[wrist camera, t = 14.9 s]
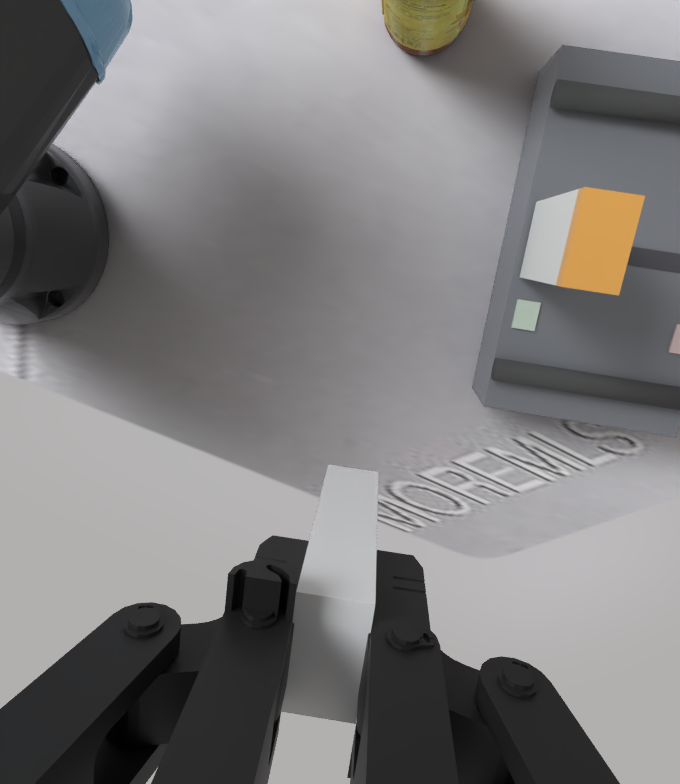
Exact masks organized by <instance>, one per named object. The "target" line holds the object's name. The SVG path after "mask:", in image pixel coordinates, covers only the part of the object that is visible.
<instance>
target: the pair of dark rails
mask: <svg viewBox="0 0 680 784" xmlns="http://www.w3.org/2000/svg"><path fill="white" fill-rule="evenodd" d="M550 107H552V108H560V109H567V110H574V111H581V112H588V113H595V114H602V115H609V116H616V117H623V118H630V119H637V120H644V121H651V122H658V123H665V124H672V125H679V126H680V96H676V95H668V94H661V93H654V92H647V91H640V90H633V89H626V88H618V87H611V86H604V85H597V84H590V83H583V82H576V81H569V80H561V79H558V80H557V81H556V83H555V86H554V88H553V92H552V95H551V101H550ZM491 379H492V380H495V381H501V382H507V383H513V384H519V385H526V386H532V387H538V388H544V389H550V390H557V391H563V392H569V393H575V394H582V395H588V396H594V397H600V398H606V399H613V400H619V401H625V402H631V403H637V404H644V405H650V406H656V407H662V408H669V409H675V410H680V387H676V386H670V385H664V384H657V383H651V382H645V381H639V380H632V379H626V378H620V377H613V376H607V375H601V374H595V373H588V372H582V371H576V370H570V369H563V368H557V367H551V366H544V365H538V364H532V363H526V362H519V361H513V360H507V359H501V358H495V360H494V363H493V366H492V372H491Z"/></svg>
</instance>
